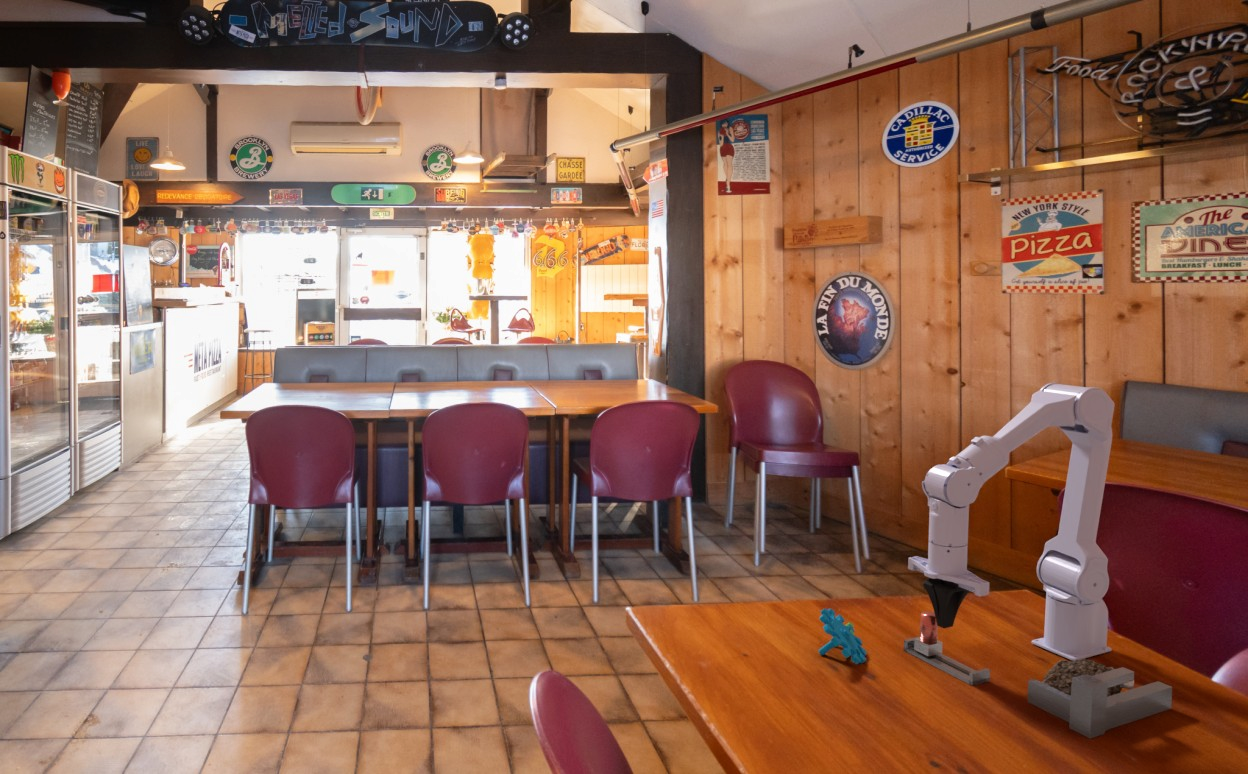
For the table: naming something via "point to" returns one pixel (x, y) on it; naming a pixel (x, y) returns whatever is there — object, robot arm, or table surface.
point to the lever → (928, 635)
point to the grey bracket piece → (1101, 701)
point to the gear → (841, 636)
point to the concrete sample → (1075, 674)
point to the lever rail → (950, 665)
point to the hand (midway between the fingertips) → (945, 626)
